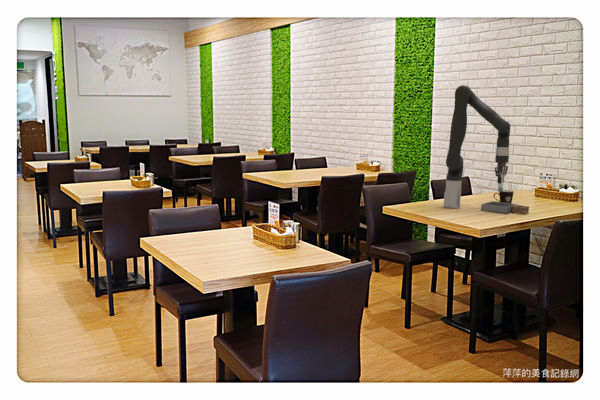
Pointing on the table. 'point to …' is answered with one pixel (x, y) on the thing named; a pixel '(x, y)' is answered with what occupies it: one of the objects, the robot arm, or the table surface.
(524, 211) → the pin block
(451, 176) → the robot arm
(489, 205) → the tray
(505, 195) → the coffee mug
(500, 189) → the stop pin
